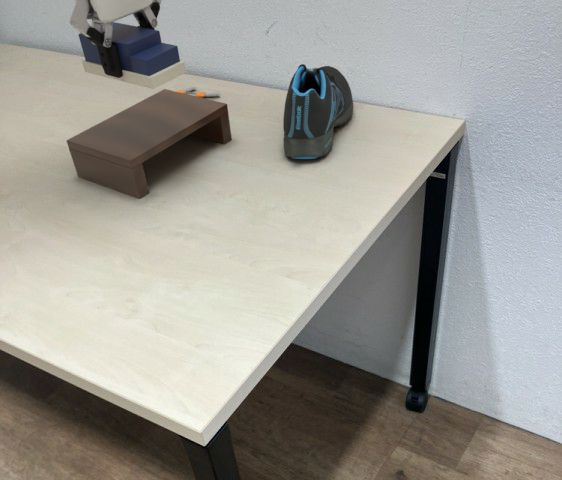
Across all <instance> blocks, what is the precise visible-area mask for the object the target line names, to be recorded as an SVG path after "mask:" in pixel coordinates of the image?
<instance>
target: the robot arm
mask: <svg viewBox="0 0 562 480" xmlns="http://www.w3.org/2000/svg"><path fill="white" fill-rule="evenodd" d="M74 2H75V5H74V8H73V11H72V14H71V16H70V19H69V24H70V25H71V26H72V28H74V29H75V30H77V31H78V32H79V34H80V33H82V34H83V36H85V37H86V38H87V39H89V40H90V41H91V42H92V44H94V45H97V48H98V52H99V56H100V60H101V64H102V67H103V69H104V72H105V74H106V75H109V76H113V77H117V78H120V77H122V76H123V73H122V67H121V63H120V59H119V55H118V51H117V47H116V46H115V45H112V31H113V22H116V21H118V20H122V19H125V18H126V17H129V16H131V15H132V16H133V17H134V19H135V20H136V22H137V24H138V25H136V26H137V27H142V28H147V29H152V30H156V28H157V27H158V16H159V13H160V10H161V3H162V0H74ZM88 20H91V24H89V22H88ZM102 24H103V32H102V33H101V25H102Z"/></svg>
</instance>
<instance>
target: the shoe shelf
mask: <svg viewBox="0 0 562 480" xmlns="http://www.w3.org/2000/svg"><path fill="white" fill-rule="evenodd" d="M187 136H192V137H197V138H200V139H204V140H208V141H211V142H214V143H219V144H221V145H226V144H227V143H229V142H230V141H232V132H231V123H230V115H229V108H228V104H227V103H225V102H221V101H217V100H212V99H209V98H204V97H197V96H196V95H193V94H184V93H179V92H176V91H174V90H170V89H166V88H164V89H162V90H160V91H158V92H156V93H154V94H152V95H151V96H148V97H146V98H145V99H143V100H140V101H139V102H137V103H135V104H133V105H131V106H129V107H126V108H125V109H124V110H121V111H120V112H117V113H116V114H114V115H112V116H110V117H108V118H105V120H102V121H100V122H99V123H96V124H95V125H93V126H91V127H90V128H87V129H85V130H83V131H82V132H79V133H78V134H76V135H74V136H72V137H70V138H69V139H66V144H67V148H68V150H69V153H70V157H71V160H72V162H73V166H74V168H75V172H76V174H77V177H78V178H81V179H83V180H87V181H89V182H92V183H95V184H98V185H101V186H103V187H106V188H108V189H112V190H114V191H117V192H120V193H123V194H125V195H128V196H132V197H134V198H137V199H139V200H140V199H142V198H144V197H145V196H147V195H149V194H150V191H149V186H148V182H147V179H146V175H145V169H144V166H143V163H144V162H146V161H148V160H149V159H151V158H153V157H154V156H156V155H158V154H159V153H161V152H163V151H165V150H166V149H168V148H169V147H171V146H172V145H174V144H175V143H177V142H179V141H181V140H182V139H184V138H185V137H187Z"/></svg>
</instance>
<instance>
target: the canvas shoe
mask: <svg viewBox="0 0 562 480" xmlns="http://www.w3.org/2000/svg"><path fill="white" fill-rule="evenodd" d="M137 26H138V25H130V24H125V23H120V22H116V21H113V31H112V45H115V46H116V47H117V51H118V55H119V59H120V63H121V67H122V73H123V76H122V77H120V78H117V77H113V76H109V75H106V74H105V72H104V69H103V67H102V64H101V60H100V56H99V52H98V48H97V45H94V44H92V42H91V41H90V40H89V39H87V38H86V37H85V36H83V34H82V33H80V32H79V33H78V34H77V35H78V38H79V42H80V46H81V49H82V53H83V56H84V60H82V61H81V63H82V66H83V70H84V72H85V73H87V74H92V75H96V76H100V77H103V78H107V79H112V80H116V81H120V82H124V83H128V84H131V85H136V86H139V87H143V88H147V89H151V90H154V89H156V88H158V87H161V86H162V85H164V84H166V83H169V82H170V81H172V80H174V79H176V78H178V77H180V76H183V75H185V74H187V71H186V65H185V61H184V60H181V59H180V53H179V48H178V47H179V46H178V45H176V44H171V43H165V42H162V37H161V32H160V30H157V29H155V30H152V29H147V28H142V27H137ZM102 32H103V24H102V25H101V33H102Z"/></svg>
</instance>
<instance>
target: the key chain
mask: <svg viewBox="0 0 562 480" xmlns="http://www.w3.org/2000/svg"><path fill="white" fill-rule="evenodd" d="M196 89H197V87H196V86H191V87H188V88H185V89H179V90H176V91H175V92H179V93H184V94H188V95H194V96H196V97H200V98H204V97H209V96H210V97H214V96H216V97H217V96H220V95H221V92H206V91H199V92H192V91H194V90H196ZM190 91H191V92H190Z"/></svg>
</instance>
